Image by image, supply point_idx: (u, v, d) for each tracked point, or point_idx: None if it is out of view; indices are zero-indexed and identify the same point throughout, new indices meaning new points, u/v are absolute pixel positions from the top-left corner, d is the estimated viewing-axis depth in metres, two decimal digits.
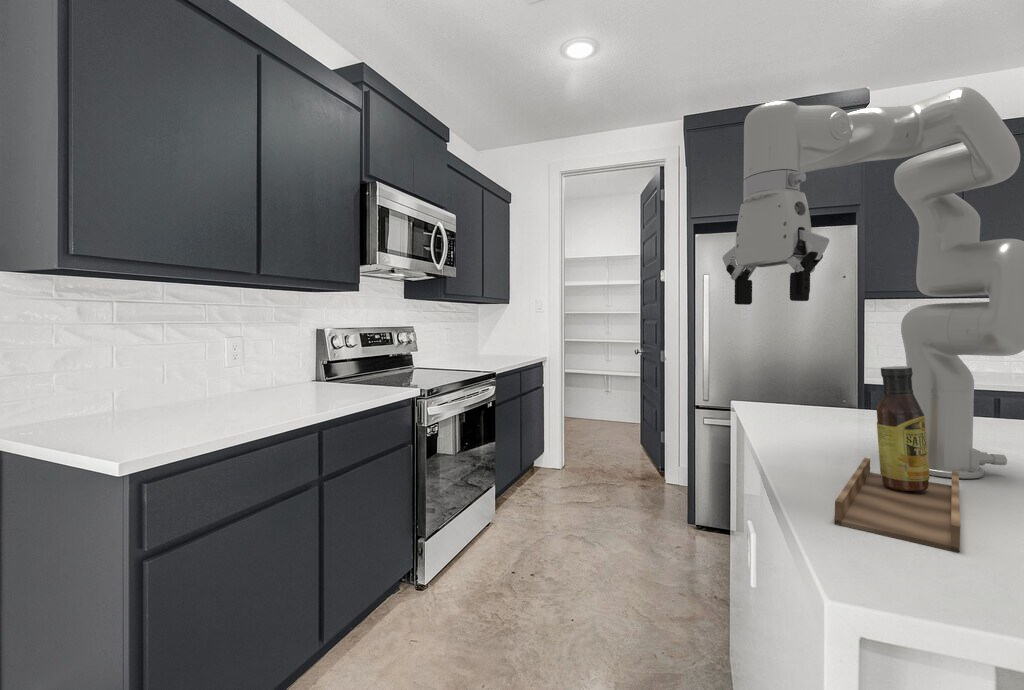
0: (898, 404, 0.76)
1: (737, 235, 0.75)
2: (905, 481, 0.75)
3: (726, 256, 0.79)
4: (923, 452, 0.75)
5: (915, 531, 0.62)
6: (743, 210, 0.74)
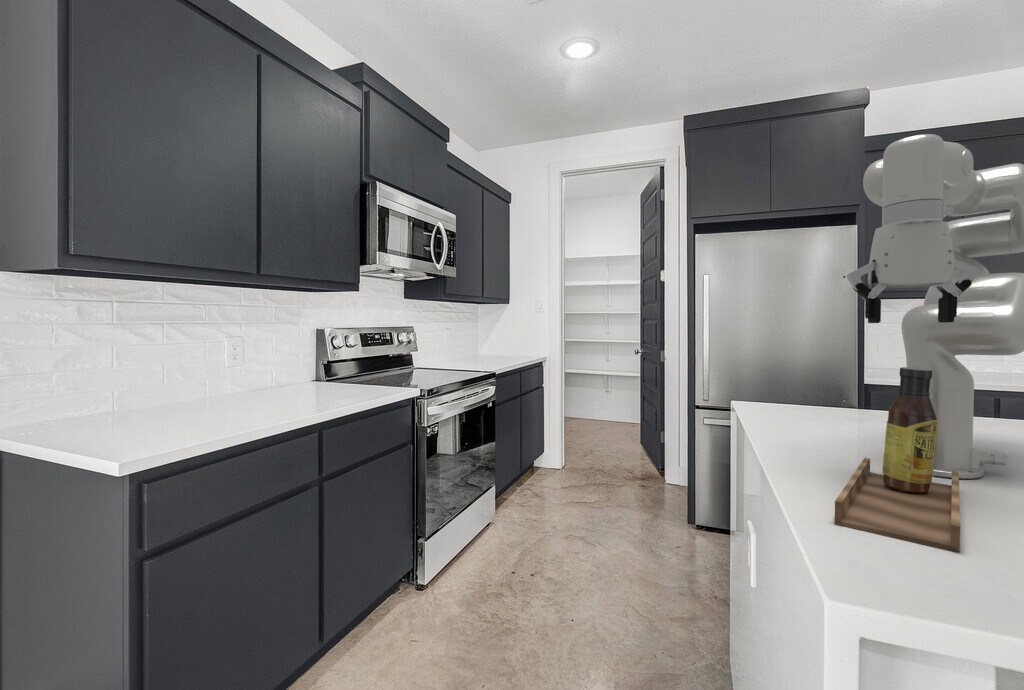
0: (912, 405, 0.75)
1: (884, 255, 0.76)
2: (907, 482, 0.75)
3: (855, 274, 0.79)
4: (929, 456, 0.74)
5: (915, 531, 0.62)
6: (895, 231, 0.75)
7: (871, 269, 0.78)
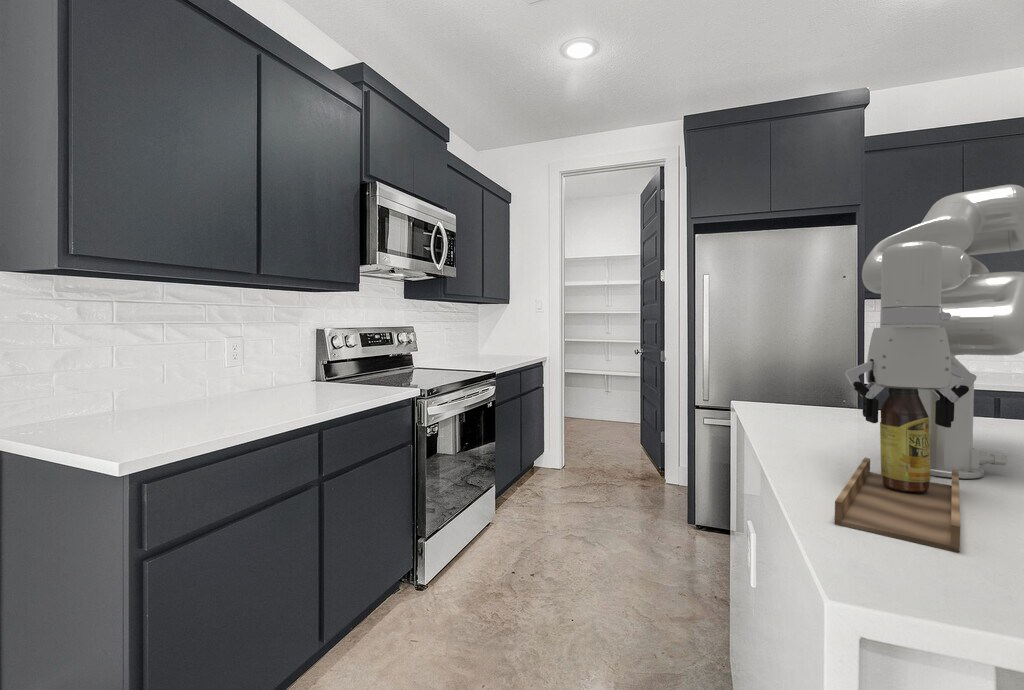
0: (903, 404, 0.76)
1: (882, 357, 0.76)
2: (906, 481, 0.75)
3: (853, 372, 0.79)
4: (925, 454, 0.75)
5: (915, 531, 0.62)
6: (893, 334, 0.76)
7: (869, 369, 0.78)
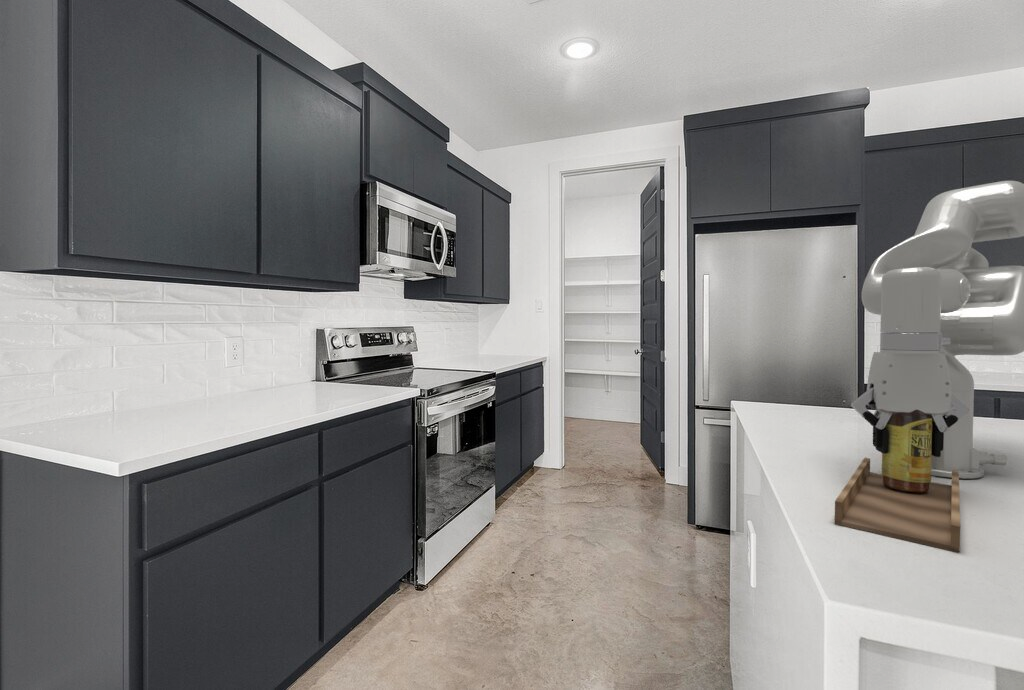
0: None
1: (882, 382, 0.77)
2: (906, 481, 0.75)
3: (859, 404, 0.79)
4: (927, 454, 0.75)
5: (915, 531, 0.62)
6: (893, 360, 0.76)
7: (873, 397, 0.78)
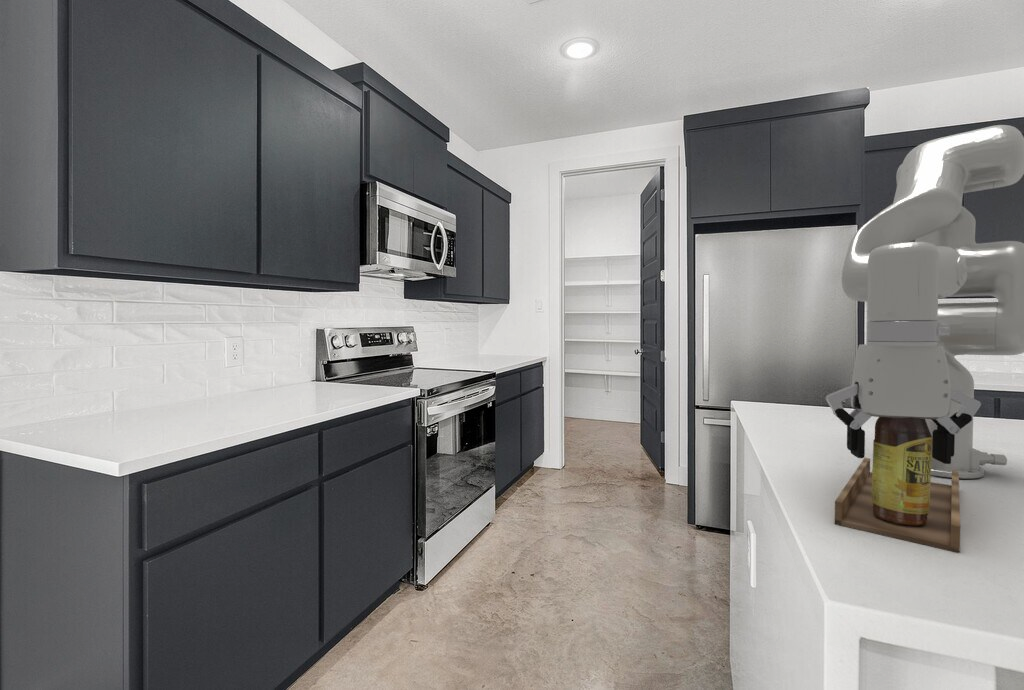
0: (902, 420, 0.64)
1: (869, 380, 0.64)
2: (900, 512, 0.63)
3: (835, 398, 0.67)
4: (925, 480, 0.62)
5: (915, 531, 0.62)
6: (881, 354, 0.64)
7: (853, 394, 0.66)
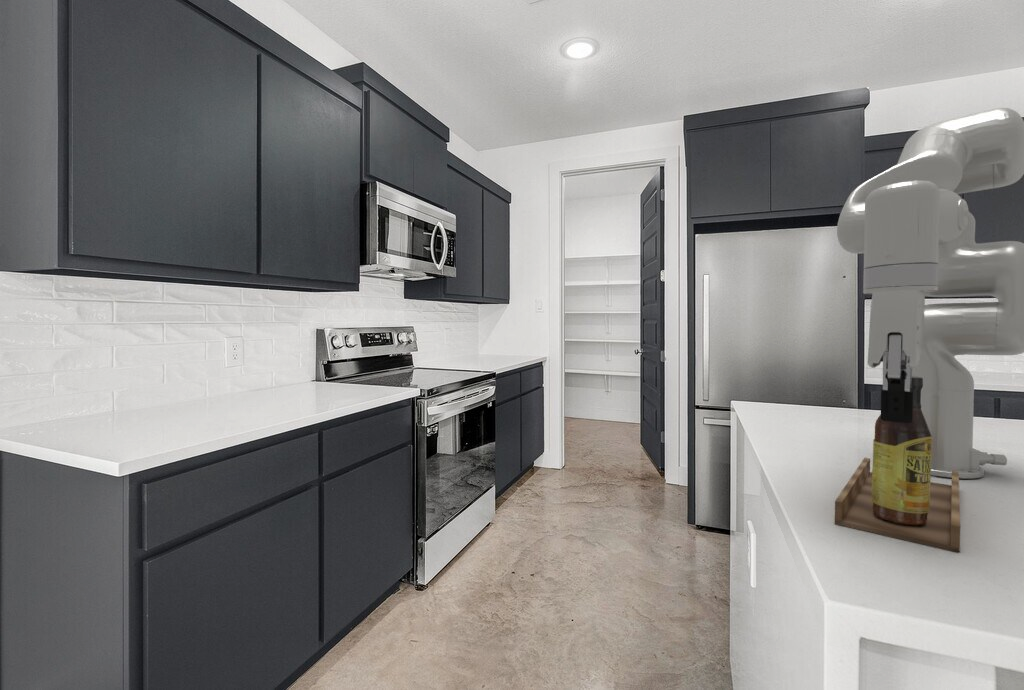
0: None
1: (917, 328, 0.57)
2: (900, 511, 0.63)
3: (900, 371, 0.58)
4: (925, 480, 0.62)
5: (915, 531, 0.62)
6: (920, 299, 0.58)
7: (901, 353, 0.59)
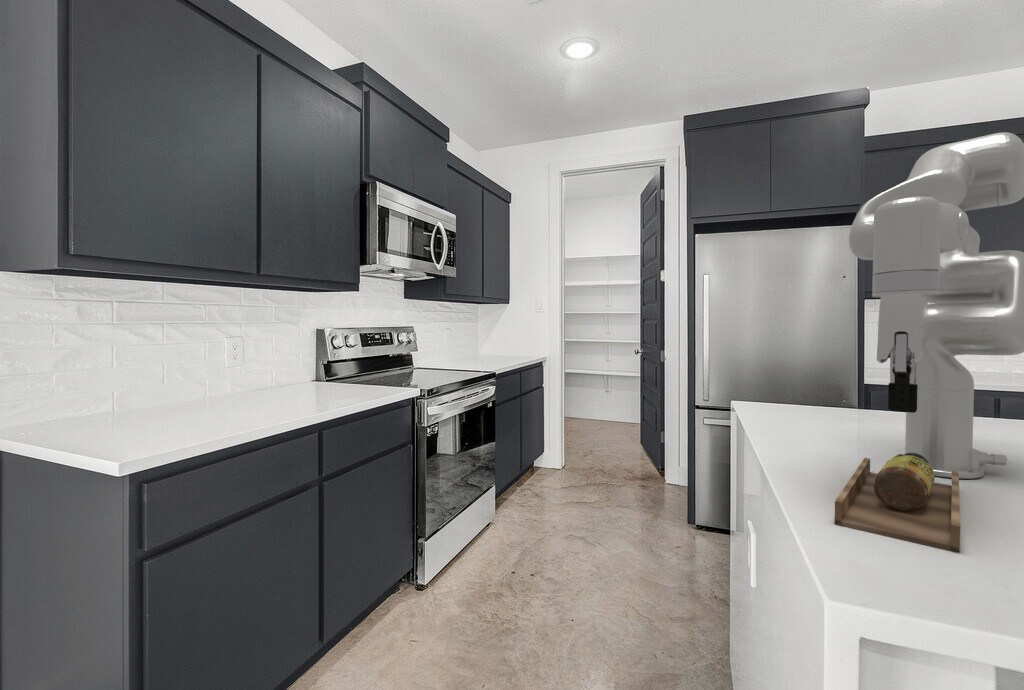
0: None
1: (921, 328, 0.65)
2: (900, 467, 0.69)
3: (906, 366, 0.65)
4: (926, 472, 0.70)
5: (915, 531, 0.62)
6: (923, 302, 0.65)
7: (907, 350, 0.66)
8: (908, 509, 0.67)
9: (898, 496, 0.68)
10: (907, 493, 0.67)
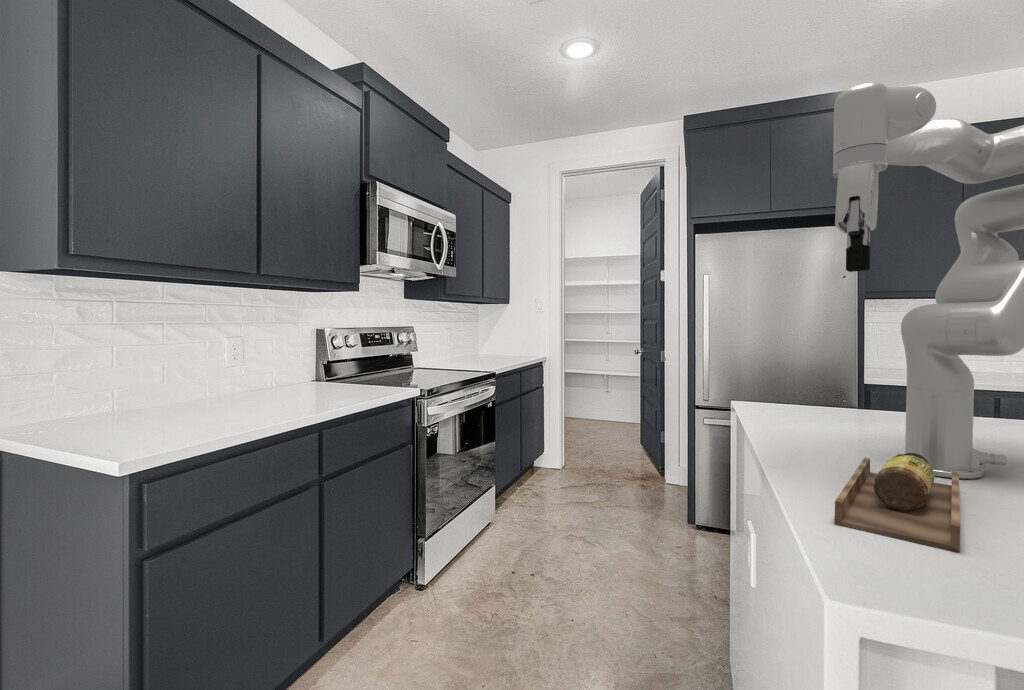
0: None
1: (870, 192, 0.76)
2: (900, 467, 0.69)
3: (858, 225, 0.77)
4: (925, 472, 0.70)
5: (915, 531, 0.62)
6: (873, 170, 0.77)
7: (859, 213, 0.78)
8: (908, 509, 0.67)
9: (897, 496, 0.68)
10: (907, 493, 0.67)
